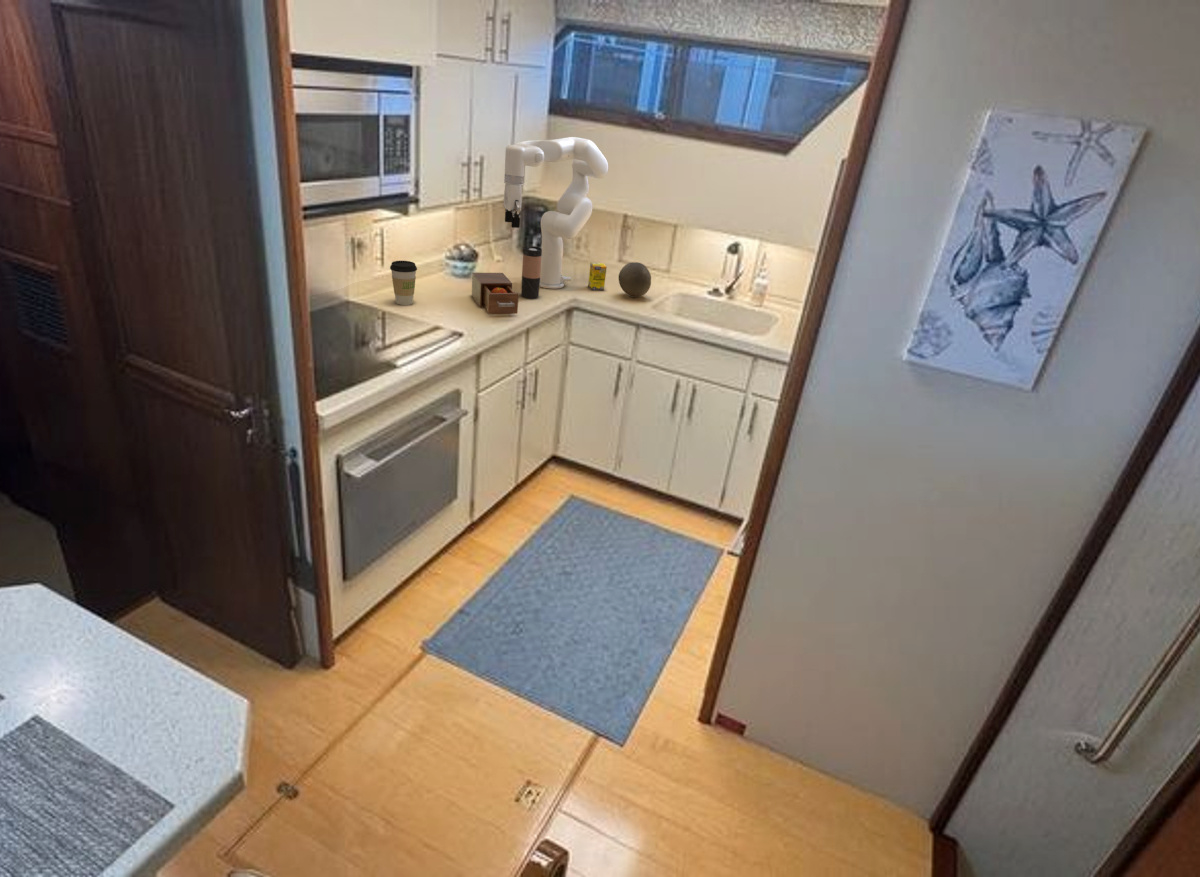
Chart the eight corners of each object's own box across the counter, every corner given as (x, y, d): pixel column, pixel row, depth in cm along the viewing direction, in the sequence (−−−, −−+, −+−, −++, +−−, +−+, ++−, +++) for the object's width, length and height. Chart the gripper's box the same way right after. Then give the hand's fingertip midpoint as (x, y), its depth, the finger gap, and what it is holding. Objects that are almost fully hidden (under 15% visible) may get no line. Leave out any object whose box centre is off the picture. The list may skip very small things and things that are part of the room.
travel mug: (535, 300, 285) (539, 251, 276) (518, 297, 286) (520, 248, 277) (541, 295, 292) (544, 247, 283) (523, 292, 293) (526, 245, 284)
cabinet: (511, 306, 274) (512, 283, 270) (480, 307, 269) (480, 283, 265) (501, 295, 286) (502, 272, 281) (471, 295, 281) (472, 272, 277)
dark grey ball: (628, 290, 314) (632, 257, 306) (654, 298, 307) (659, 264, 300) (610, 295, 303) (614, 261, 296) (637, 304, 296) (642, 269, 289)
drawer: (520, 317, 261) (522, 297, 258) (491, 318, 257) (492, 297, 253) (508, 302, 276) (509, 283, 272) (479, 302, 271) (480, 283, 268)
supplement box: (591, 290, 307) (594, 266, 302) (587, 286, 312) (590, 262, 306) (604, 290, 309) (607, 266, 303) (600, 286, 313) (602, 262, 308)
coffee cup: (418, 306, 262) (417, 267, 255) (391, 306, 259) (390, 266, 252) (416, 298, 270) (416, 260, 263) (390, 298, 267) (389, 259, 260)
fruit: (511, 305, 269) (512, 285, 266) (501, 309, 264) (502, 289, 260) (496, 301, 272) (497, 281, 268) (486, 305, 266) (486, 285, 262)
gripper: (499, 175, 274) (497, 219, 282) (510, 183, 260) (508, 229, 268) (517, 176, 276) (515, 220, 284) (529, 184, 263) (527, 230, 271)
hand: (512, 224), depth 276 cm, fingers open, 9 cm apart
